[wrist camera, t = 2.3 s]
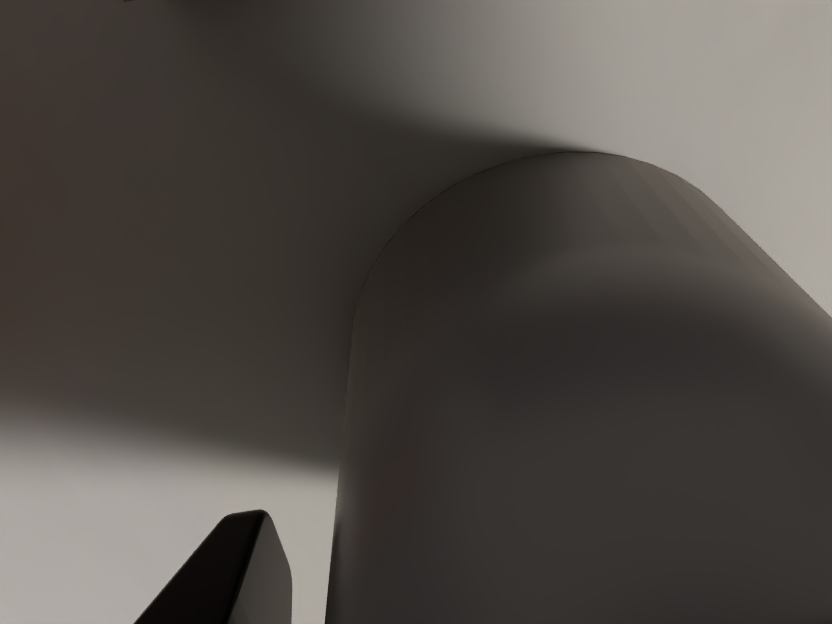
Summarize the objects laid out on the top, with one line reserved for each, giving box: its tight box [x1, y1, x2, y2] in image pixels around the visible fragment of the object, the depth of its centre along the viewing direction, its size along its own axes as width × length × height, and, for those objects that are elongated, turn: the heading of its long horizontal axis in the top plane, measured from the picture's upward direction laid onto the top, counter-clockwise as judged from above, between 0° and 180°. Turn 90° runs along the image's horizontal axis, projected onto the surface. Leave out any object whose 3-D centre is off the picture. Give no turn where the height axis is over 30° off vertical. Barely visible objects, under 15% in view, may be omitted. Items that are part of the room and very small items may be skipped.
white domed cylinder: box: [325, 152, 832, 624], centre depth 7 cm, size 5×5×7 cm
